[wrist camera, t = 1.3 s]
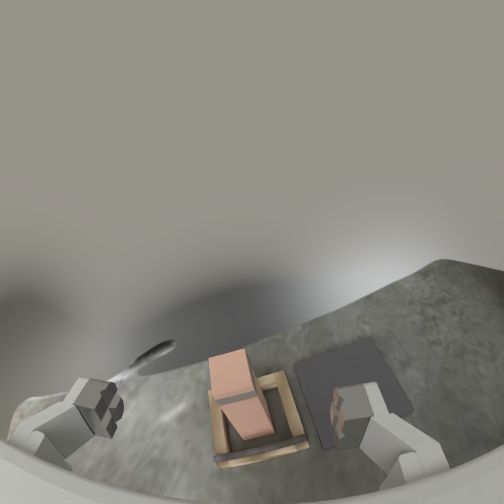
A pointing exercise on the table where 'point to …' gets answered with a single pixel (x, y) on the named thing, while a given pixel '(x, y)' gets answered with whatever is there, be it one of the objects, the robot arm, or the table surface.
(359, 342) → the mat
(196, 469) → the table surface
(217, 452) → the frame
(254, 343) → the table surface
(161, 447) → the table surface
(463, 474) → the robot arm
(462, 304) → the table surface
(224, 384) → the block
